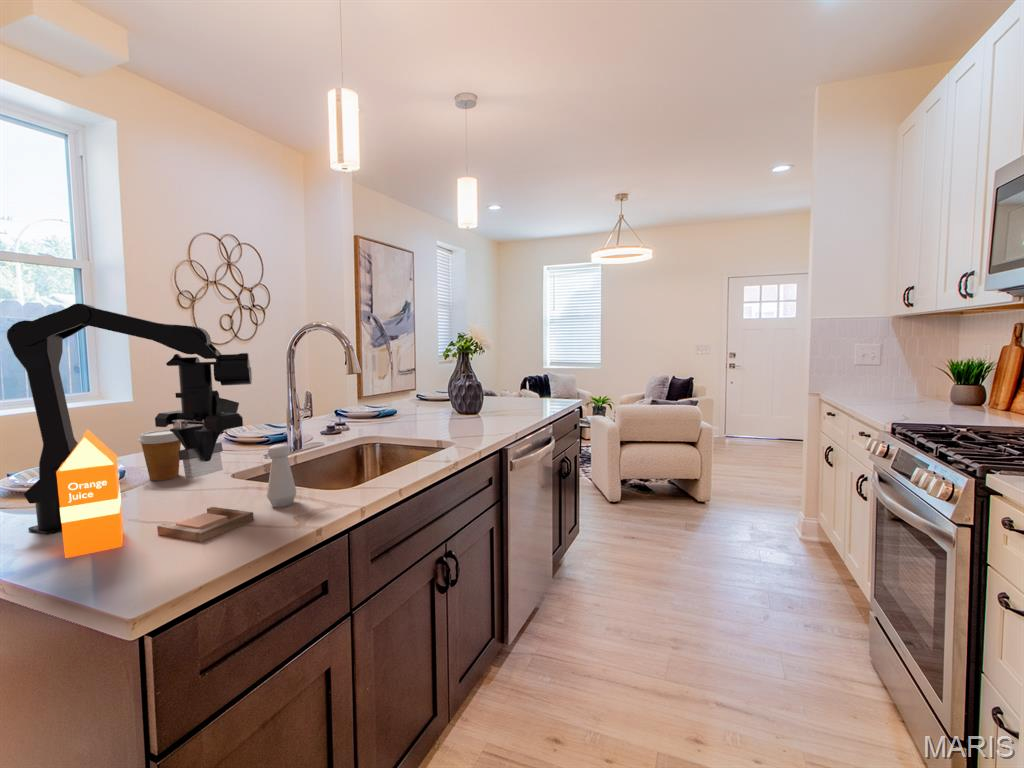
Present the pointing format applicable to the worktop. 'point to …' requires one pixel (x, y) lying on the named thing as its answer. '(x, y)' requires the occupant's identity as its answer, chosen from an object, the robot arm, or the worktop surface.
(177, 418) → the robot arm
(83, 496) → the orange juice
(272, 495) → the salt shaker
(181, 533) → the bay
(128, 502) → the worktop surface
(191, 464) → the grey block
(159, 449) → the disposable coffee cup
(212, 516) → the tile
